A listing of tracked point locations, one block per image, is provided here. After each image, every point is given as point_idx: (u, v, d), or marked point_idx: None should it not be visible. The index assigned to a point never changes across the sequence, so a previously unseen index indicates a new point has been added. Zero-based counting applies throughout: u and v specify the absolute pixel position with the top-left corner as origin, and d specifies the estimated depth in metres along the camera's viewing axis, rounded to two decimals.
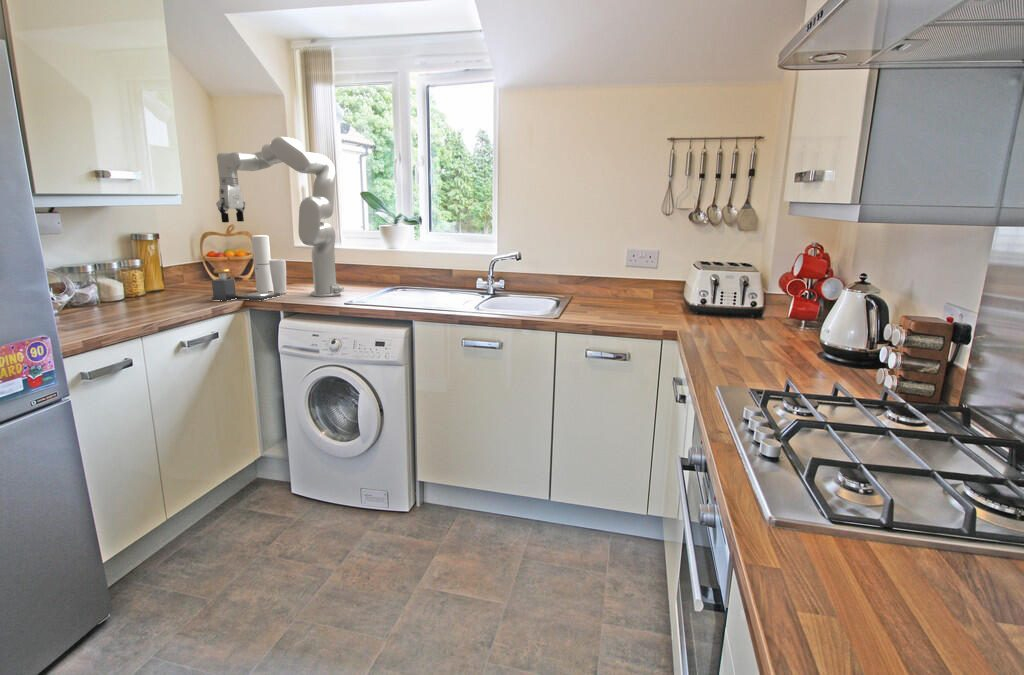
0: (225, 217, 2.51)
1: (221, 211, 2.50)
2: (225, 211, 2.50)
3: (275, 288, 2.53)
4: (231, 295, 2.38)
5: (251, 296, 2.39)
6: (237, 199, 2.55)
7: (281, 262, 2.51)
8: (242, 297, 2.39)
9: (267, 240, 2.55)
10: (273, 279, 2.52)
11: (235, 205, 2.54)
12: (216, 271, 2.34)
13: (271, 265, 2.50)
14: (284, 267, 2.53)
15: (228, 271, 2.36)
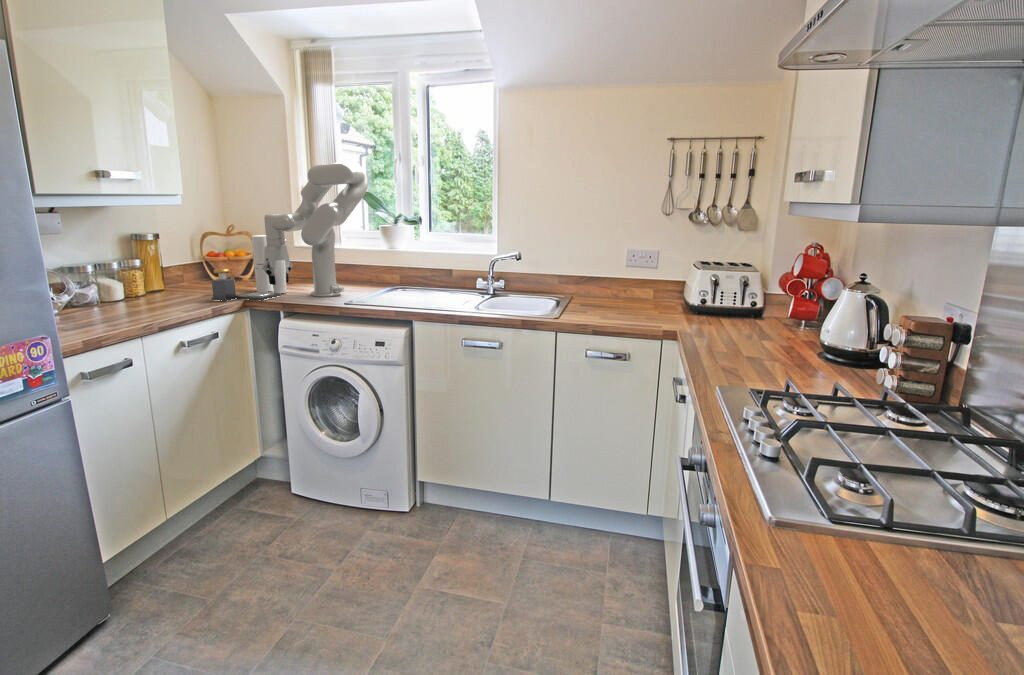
0: None
1: None
2: None
3: (275, 288, 2.53)
4: (231, 295, 2.38)
5: (251, 296, 2.39)
6: None
7: (281, 262, 2.51)
8: (242, 297, 2.39)
9: None
10: None
11: None
12: (216, 271, 2.34)
13: None
14: (284, 267, 2.53)
15: (228, 271, 2.36)
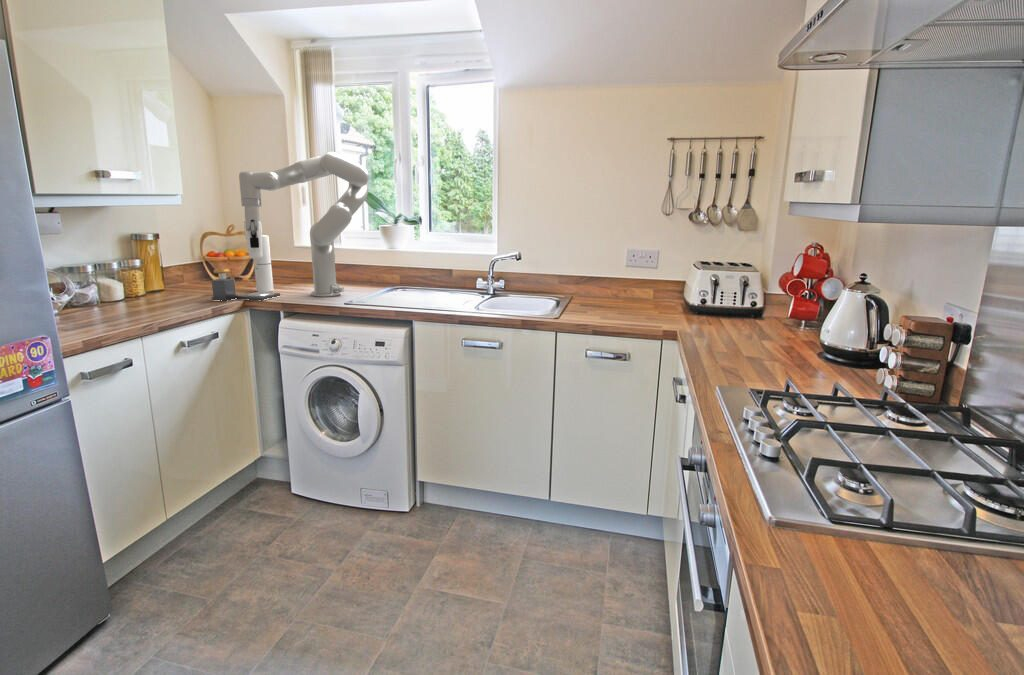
0: None
1: None
2: None
3: (256, 252, 2.38)
4: (231, 295, 2.38)
5: (251, 296, 2.39)
6: None
7: (261, 223, 2.38)
8: (242, 297, 2.39)
9: (267, 240, 2.55)
10: None
11: None
12: (216, 271, 2.34)
13: None
14: None
15: (228, 271, 2.36)
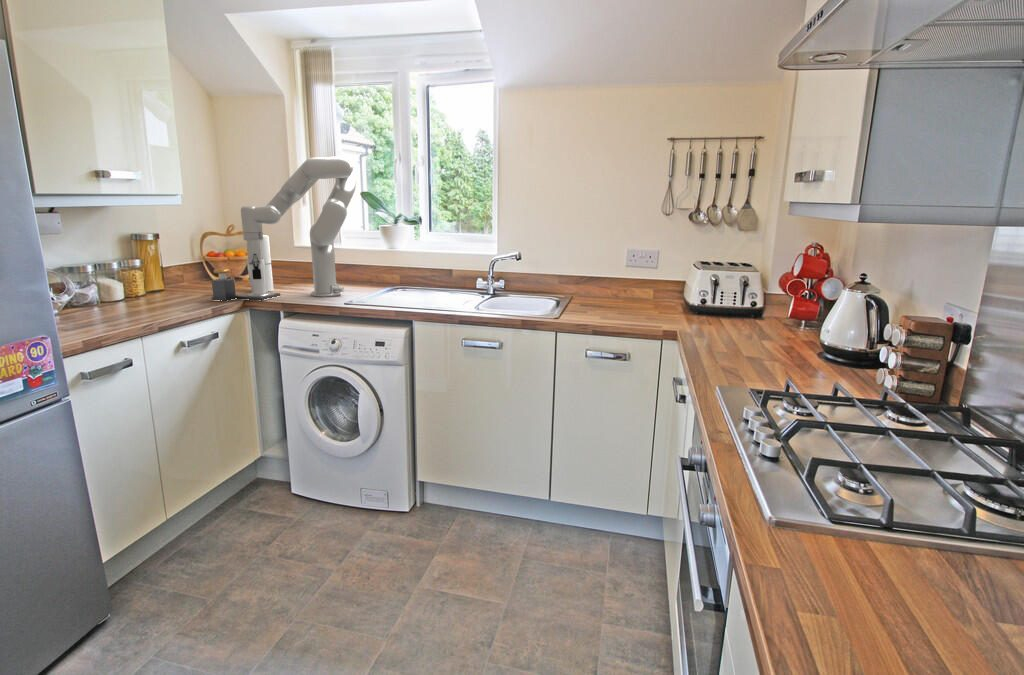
0: None
1: None
2: None
3: (259, 289, 2.41)
4: (231, 295, 2.38)
5: (251, 296, 2.39)
6: (247, 254, 2.38)
7: (263, 260, 2.41)
8: (242, 297, 2.39)
9: (267, 240, 2.55)
10: (257, 279, 2.39)
11: None
12: (216, 271, 2.34)
13: None
14: None
15: (228, 271, 2.36)
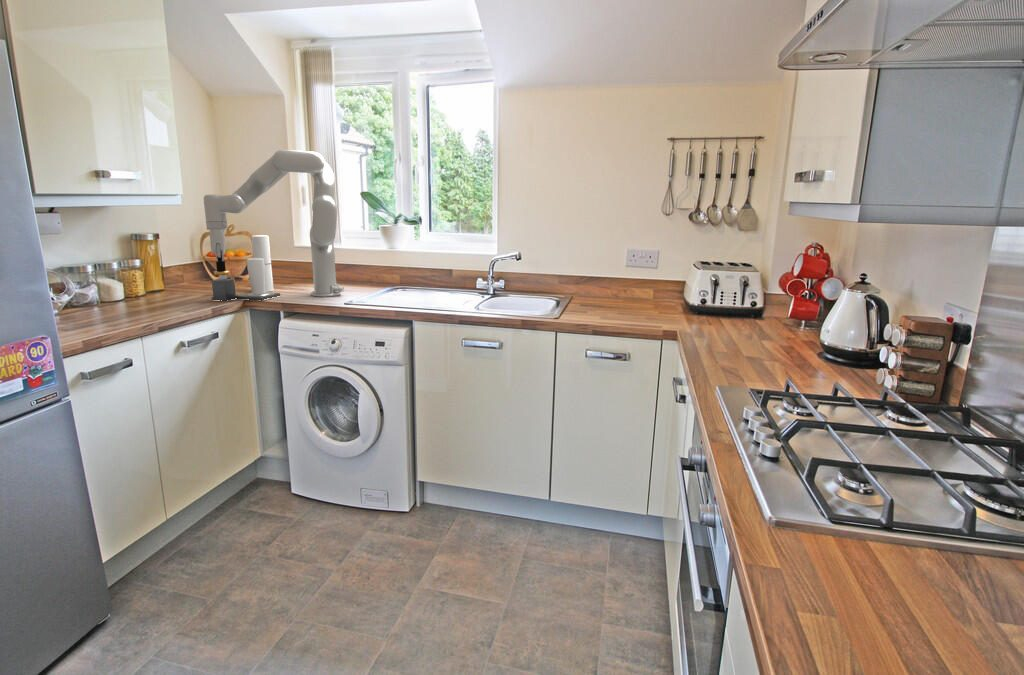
0: None
1: None
2: None
3: (259, 288, 2.41)
4: (231, 295, 2.38)
5: (251, 296, 2.39)
6: None
7: (263, 260, 2.41)
8: (242, 297, 2.39)
9: (267, 240, 2.55)
10: (257, 279, 2.39)
11: None
12: (216, 273, 2.34)
13: (256, 264, 2.38)
14: None
15: (228, 273, 2.36)
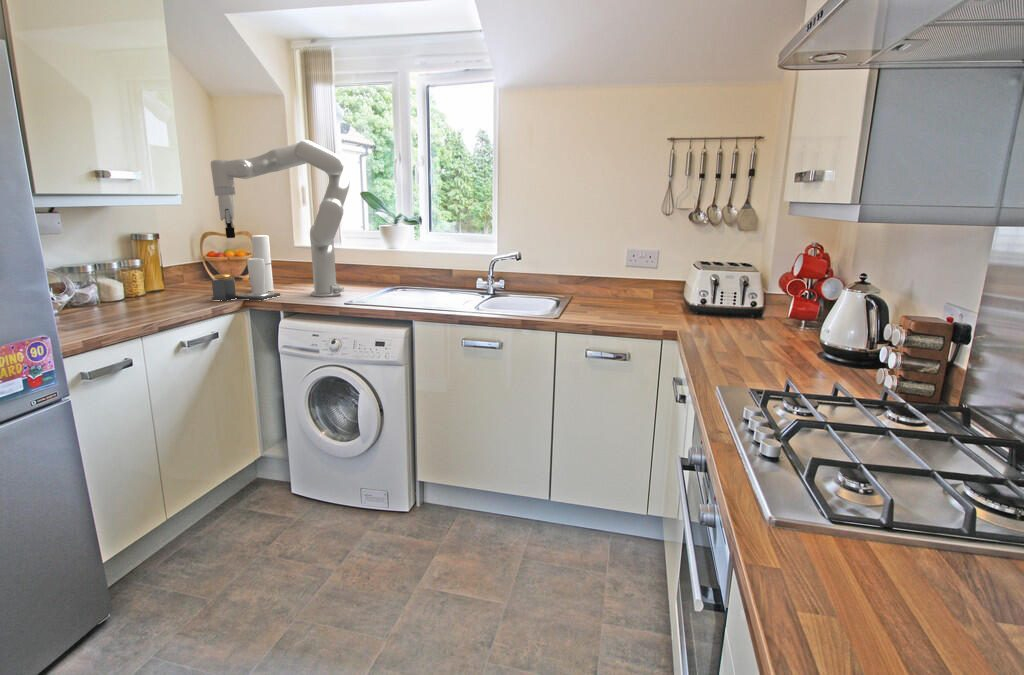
0: None
1: None
2: None
3: (259, 289, 2.41)
4: (231, 295, 2.38)
5: (251, 296, 2.39)
6: None
7: (264, 260, 2.41)
8: (242, 297, 2.39)
9: (267, 240, 2.55)
10: (257, 279, 2.39)
11: None
12: (217, 277, 2.34)
13: (256, 264, 2.38)
14: None
15: (229, 277, 2.36)
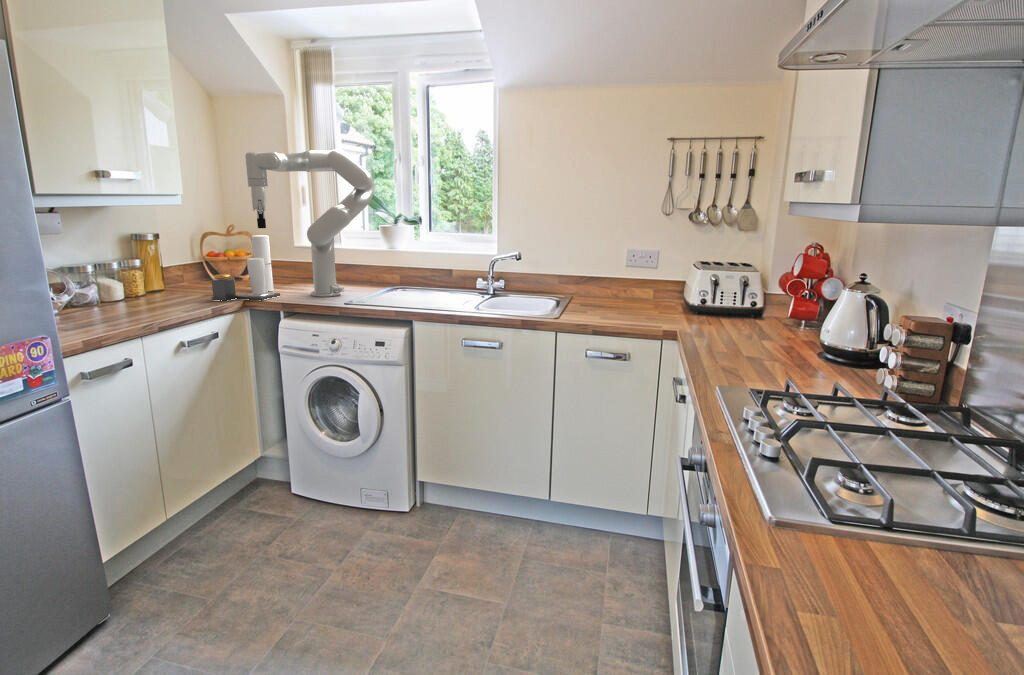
0: None
1: None
2: (257, 217, 2.43)
3: (259, 288, 2.41)
4: (231, 295, 2.38)
5: (251, 296, 2.39)
6: None
7: (263, 260, 2.41)
8: (242, 297, 2.39)
9: (267, 240, 2.55)
10: (257, 279, 2.39)
11: None
12: (217, 277, 2.34)
13: (256, 264, 2.38)
14: None
15: (229, 277, 2.36)
